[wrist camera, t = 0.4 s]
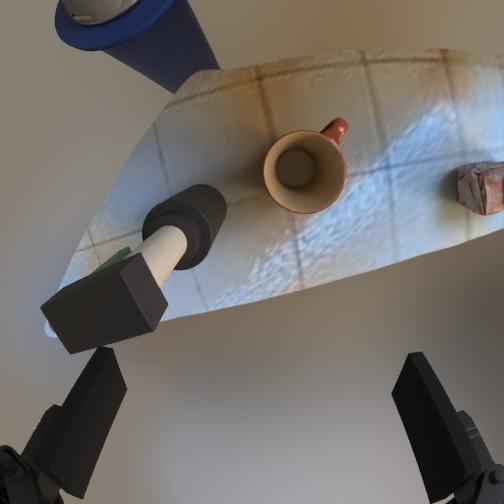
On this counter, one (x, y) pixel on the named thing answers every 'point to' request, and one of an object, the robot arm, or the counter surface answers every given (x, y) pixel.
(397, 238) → the counter surface
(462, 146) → the counter surface
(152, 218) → the spray bottle
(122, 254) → the trigger
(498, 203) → the food item
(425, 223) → the counter surface
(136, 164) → the counter surface
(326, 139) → the mug
